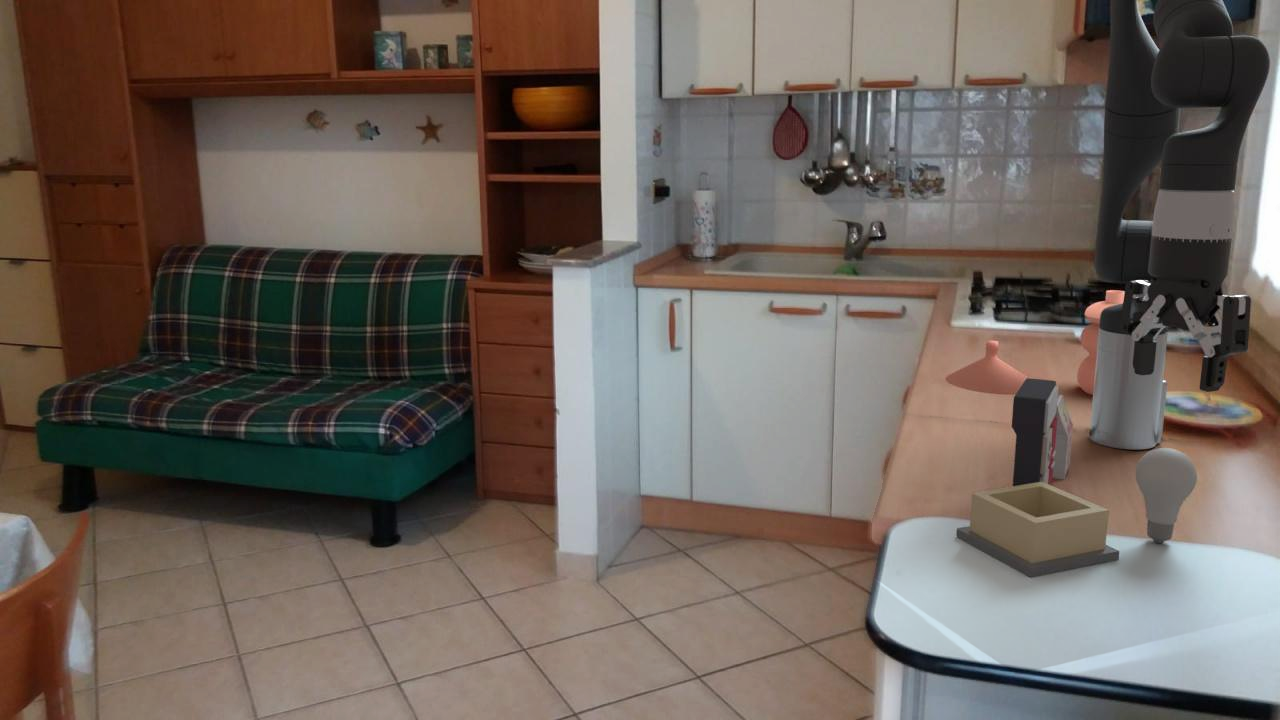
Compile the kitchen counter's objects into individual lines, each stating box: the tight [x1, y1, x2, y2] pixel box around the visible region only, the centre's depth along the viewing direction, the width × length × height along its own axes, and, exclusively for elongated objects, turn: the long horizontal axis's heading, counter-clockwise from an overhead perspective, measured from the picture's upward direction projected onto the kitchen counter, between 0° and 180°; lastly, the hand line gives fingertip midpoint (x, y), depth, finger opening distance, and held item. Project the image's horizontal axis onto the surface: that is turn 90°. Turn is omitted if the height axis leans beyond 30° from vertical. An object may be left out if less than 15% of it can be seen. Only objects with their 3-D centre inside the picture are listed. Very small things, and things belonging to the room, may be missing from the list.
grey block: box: [1053, 394, 1074, 480], centre depth 139 cm, size 4×7×10 cm, turn 152°
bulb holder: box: [955, 482, 1120, 578], centre depth 114 cm, size 12×12×6 cm
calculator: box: [1011, 377, 1059, 486], centre depth 126 cm, size 11×4×15 cm, turn 152°
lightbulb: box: [1134, 447, 1198, 544], centre depth 114 cm, size 6×6×11 cm
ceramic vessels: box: [945, 289, 1125, 396], centre depth 180 cm, size 35×21×19 cm, turn 73°
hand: (1175, 382), depth 111 cm, fingers open, 8 cm apart
